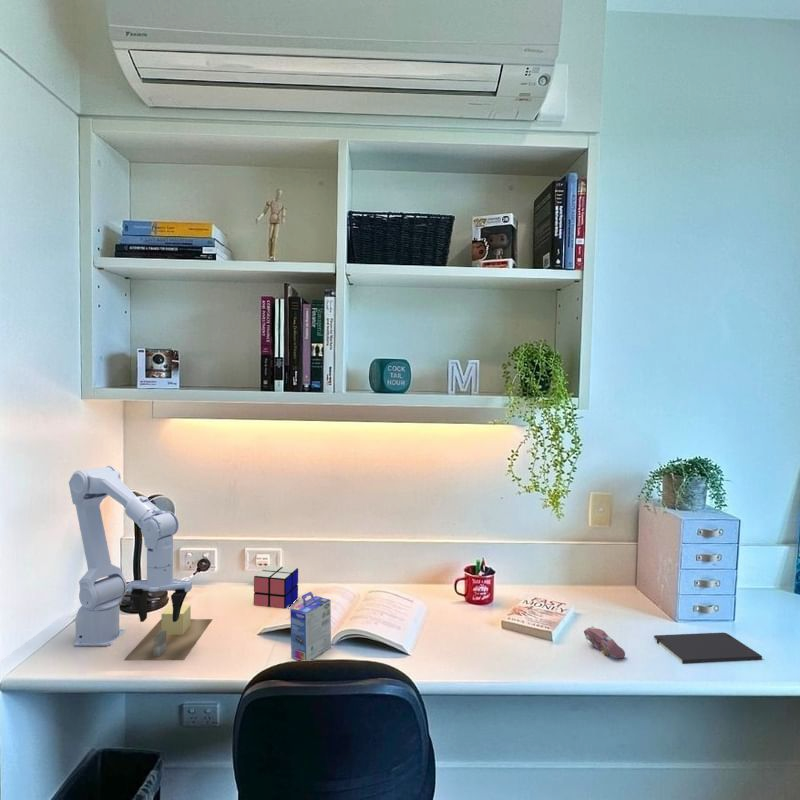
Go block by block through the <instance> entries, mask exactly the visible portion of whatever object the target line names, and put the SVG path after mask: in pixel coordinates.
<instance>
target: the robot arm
mask: <svg viewBox="0 0 800 800" xmlns="http://www.w3.org/2000/svg"><path fill="white" fill-rule="evenodd" d="M68 485H69V491H70V495H71V497H70V498H71V501H72V504H73V505H75V509H76V515H77V520H78V523H79V524H78V525H79V529H80V534H81V540H82V545H83V549H84V555H85V560H86V564H87V565H86V566H87V571H86V572H85V574H84V575H83V576H82V577H81V578H80V579H79V581H78V585H79V593H78V598H79V602H80V604H81V606H80V607H79V608H78V610H77V612H76V616H75V642H74V643H73V645H74V647H77V646H78V647H79V646H81V647H85V646H86V647H87V646H88V647H89V646H92V647H94V646H95V647H97V646H98V647H100V646H101V647H103V646H105V647H108V646H109V647H110V646H111V645H113V644H114V643H115V642H116V641H117V640H118V639H119V638H120V637H121V635H123V634H124V633H125V632H126V629H120V603H121V602H123V598H124V596H126V594H127V592H129V593H130V592H131V594H129V598H130V600H131V601H132V603H133V605H134V606H135V609H136V611H137V614H138V618H139V620H140V621H139V622H140V623H144V622H145V621H146V619H147V618H148V597H149V593H150V592H160V591H161V592H165V591H167V592H168V591H169V592H170V591H171V592H172V591H173V593H172V594H171V596H170V599H171V605H173V622H176V621H177V620H178V619H179V614H180V610H181V606H182V605H184V604H183V603H184V601H185V598H186V596H187V594H188V592H190V591H191V590H192V588H193V585H192V584H193V581H192V580H181V579H176V578H174V575H173V574H174V569H173V568H174V567H173V566H174V562H173V561H174V535H176V534H177V532H178V530H179V521H178V518H177V515H175V514H174V512H172V511H165V510H161V508H159V507H157V506H156V505H155V504H154V503H153V502H151V501H150V500H149V498H148V497H147V496H144V495H138V496H137V495H136V494H135V493H134V492H133V491H132V490H131V489H130V488H129V487H128V486H127V484H125V482H123V481H122V480H121V474H120V471H118V470H117V469H116V468H115V467H114V466H111V465H107V466H104V467H98V468H89V469H84V470H81V469H80V470H75V471H74V472H73V474H72V475H71V477H70V479H69V481H68ZM108 496H109V497H111V498H112V499H113V500H115V502H118V503H119V504H120V505H122V506H123V507H125V509H124V513H125V515H126V516H127V517H128V518H129V519H130V520H132V521H133V522H134V523H135V524H136V525H137V526H138V527H140V532H141V535H142V537H143V540H144V547H145V548H146V579H141V580H130V581H129V582H127V581H126V579H125V577H124V575H123V571H122V569H121V568H120V567H119V566H117V565H115V564H112V561H111V557H110V552H109V547H108V542H107V535H106V530H105V527H104V521H103V518H102V517H103V516H102V511H101V503H102V502H103V501H104V499H106V498H107V497H108Z"/></svg>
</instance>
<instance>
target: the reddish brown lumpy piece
mask: <svg viewBox="0 0 800 800" xmlns="http://www.w3.org/2000/svg"><path fill="white" fill-rule="evenodd" d="M583 634H584V636H585V639H586V640H587V641H589V642H590V643H591V644H592V646H593V648H594V649H596V650H597V651H599V650H600V651H601V653H602V654H603V655H604V656H606V657H608V656H609V655H612V656H614V657H615V658H617V659H621V660H622V659H624V658H625V656H626V652H625V650H624V649H623V648H622V647H621V646H619V645H618V644H617V643H616V642H615V640H614V639H612V637H610V636H609V634H607V633H606V631H604V630H602V629H600V628H596V627H595V626H591V627H588V628H586V629H585V630H584V631H583Z"/></svg>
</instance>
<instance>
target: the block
mask: <svg viewBox="0 0 800 800" xmlns="http://www.w3.org/2000/svg"><path fill="white" fill-rule="evenodd" d="M191 608H192V607H191V604H182V606H181V610H180V614H179V619H178V620H177V621H176V622H173V605H172V604H169V605H168V606H167V607H166V609H164V611H162V613H161V619H162V631H166V635H183V634H184V633H185V632H186V630H187V629H188V628H189V627H190V620H191V619H192V618H191Z"/></svg>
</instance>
